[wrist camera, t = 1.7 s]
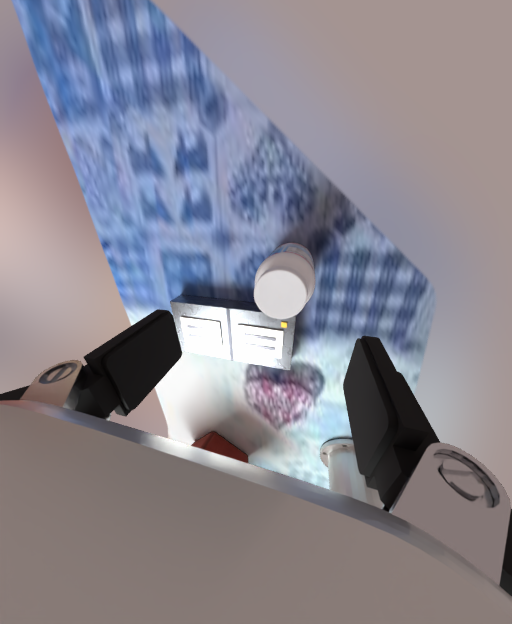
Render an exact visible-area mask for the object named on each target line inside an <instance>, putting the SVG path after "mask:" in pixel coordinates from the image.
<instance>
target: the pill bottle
mask: <svg viewBox="0 0 512 624" xmlns="http://www.w3.org/2000/svg"><path fill="white" fill-rule="evenodd" d="M314 288H315V272H314V263H313V258H312V256H311V254H310V252H309V251H308V250H307V249H306V248H305V247H304V246H302V245H300V244H297V243H286V244H283V245H281V246H279V247H278V248H276V249H275V250H274V251H273V252H272V253H271V254H270V255H269V256H268V257H267V258H266V260H265V261H264V262H263V263H262V264H261V265H260V267H259V269H258V271H257V273H256V277H255V288H254V299H255V302H256V304H257V306H258V307H259V309H260V310H261V311H262V312H263V313H264V314H266V315H268V316H270V317H272V318H276V319H287V318H290V317H293V316H295V315H297V314H298V313H299V312H300V311H301V310H302V309H303V307H304V306H305V304H306V303H307V302H308V301H309V299H310V298H311V296H312V294H313V292H314Z"/></svg>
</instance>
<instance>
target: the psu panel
mask: <svg viewBox="0 0 512 624" xmlns="http://www.w3.org/2000/svg"><path fill="white" fill-rule="evenodd" d="M170 304H171V308H172V312H173V316H174V321H175V325H176V329H177V333H178V337H179V342H180V346H181V350H182V351H187V352H192V353H198V354H203V355H208V356H214V357H219V358H225V359H230V360H235V361H241V362H246V363H252V364H257V365H263V366H268V367H273V368H279V369H284V370H290V367H291V360H292V351H293V342H294V333H295V323H296V315H295V316H293V317H290V318H287V319H276V318H272V317H270V316H268V315H266V314H264V313H263V312H262V311H261V310H260V309H259V307H258V306H257V304H256V303H254V302H245V301H235V300H226V299H217V298H207V297H198V296H189V295H180V296H178V297H177V298H175V299H173V300H172V301H170Z"/></svg>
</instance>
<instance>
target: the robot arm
mask: <svg viewBox="0 0 512 624" xmlns="http://www.w3.org/2000/svg"><path fill="white" fill-rule="evenodd" d="M181 355H182V350H181V346H180V342H179V338H178V334H177V330H176V326H175V322H174V318H173V315H172V314H171V313H170V312H169V311H167V310H156V311H154V312H153V313H151V314H150V315H148V316H146V317H145V318H143V319H142V320H140V321H139V322H137V323H136V324H134V325H132V326H131V327H129V328H128V329H126V330H125V331H123V332H122V333H120V334H118V335H117V336H115V337H114V338H112V339H111V340H109V341H107V342H106V343H104V344H103V345H102V346H100V347H98V348H97V349H95V350H93V351H92V352H90V353H89V354H87V355H86V356H84V359H85V360H86V362H87V365H85V366H83V364H82V363H81V361H78V360H70V361H65V362H62V363H58V364H56V365H54V366H52V367H50V368H48V369H46V370H44V371H43V372H42V373H40V374H39V375H38V376H37V377H36V378H35V379H34V381H33V382H32V383H31V385H29V386H26V387H23V388H19V389H16V390H13V391H9V392H6V393H3V394H0V624H512V509H511V507H510V499H509V497H508V495H507V493H506V491H505V489H504V487H503V486H502V484H501V483H500V482H499V481H498V479H497V478H496V477H495V475H493V474H492V472H491V471H489V470H488V469H487V468H486V467H485V466H484V465H483V464H482V463H481V462H479V461H478V460H477V459H475V458H474V457H473V456H472V455H470V454H468V453H466V452H465V451H462V450H461V449H459V448H457V447H455V446H452V445H449V444H445V443H440V441H439V439H438V438H437V436H436V434H435V432H434V430H433V429H432V427H431V425H430V423H429V422H428V420H427V418H426V416H425V414H424V412H423V411H422V409H421V407H420V405H419V404H418V402H417V400H416V398H415V396H414V395H413V393H412V391H411V389H410V387H409V386H408V384H407V382H406V380H405V378H404V377H403V375H402V374H401V373H399V372H397V371H396V369H395V367H394V365H393V363H392V361H391V359H390V358H389V356H388V354H387V352H386V350H385V348H384V346H383V345H382V343H381V341H380V339H379V338H377V337H369V336H362V338H361V339H359V338H358V339H357V340H356V343H355V347H354V350H353V353H352V356H351V360H350V363H349V366H348V369H347V373H346V376H345V379H344V384H343V389H344V395H345V400H346V406H347V411H348V416H349V422H350V427H351V433H352V438H353V440H351V439H335V440H331V441H329V442H326V443H325V444H323V446H322V447H321V449H320V458H321V460H322V462H323V463H324V465H325V466H327V467H328V472H329V487H330V490H329V489H326V488H323V487H320V486H317V485H314V484H311V483H308V482H305V481H302V480H299V479H296V478H293V477H290V476H286V475H283V474H280V473H277V472H274V471H270V470H267V469H264V468H261V467H258V466H254V465H251V464H248V463H245V462H242V461H238V460H235V459H232V458H229V457H226V456H222V455H219V454H216V453H213V452H210V451H206V450H203V449H200V448H197V447H193V446H190V445H187V444H184V443H180V442H177V441H174V440H171V439H167V438H164V437H161V436H158V435H154V434H151V433H148V432H144V431H141V430H138V429H135V428H131V427H128V426H124V425H121V424H118V423H115V422H111V421H110V417H111V412H112V411H113V410H115V412H116V413H117V414H119V415H122V416H127V415H128V413H130V412H131V410H133V409H135V408H136V407H137V406H138V405H139V404H140V403H141V401H143V399H144V398H145V397H146V396H147V395H148V394H149V392H151V390H152V389H153V388H154V387H155V386H156V385H157V384H158V383H159V381H160V380H161V379H162V378H163V377H164V376H165V375H166V374H167V372H168V371H169V370H170V369H171V368H172V367H173V366H174V365H175V363H176V362H177V361H178V360H179V359H180V358H181Z"/></svg>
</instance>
